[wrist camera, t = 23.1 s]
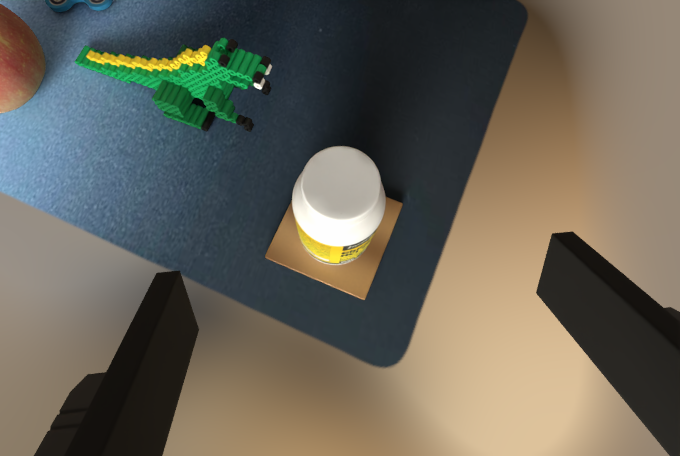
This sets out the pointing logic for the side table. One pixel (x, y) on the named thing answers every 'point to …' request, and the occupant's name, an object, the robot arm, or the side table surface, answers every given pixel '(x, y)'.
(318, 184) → the pill bottle
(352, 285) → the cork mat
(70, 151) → the side table surface
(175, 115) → the green brick dinosaur
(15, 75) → the apple
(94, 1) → the toy
